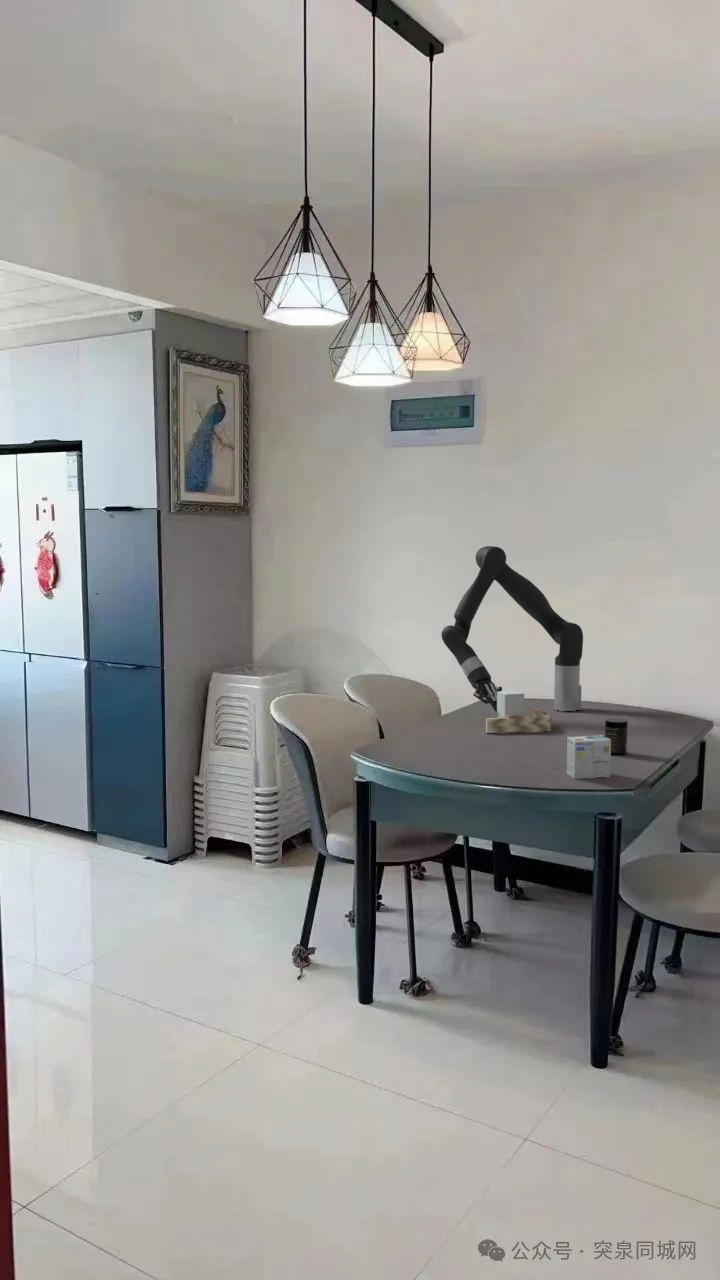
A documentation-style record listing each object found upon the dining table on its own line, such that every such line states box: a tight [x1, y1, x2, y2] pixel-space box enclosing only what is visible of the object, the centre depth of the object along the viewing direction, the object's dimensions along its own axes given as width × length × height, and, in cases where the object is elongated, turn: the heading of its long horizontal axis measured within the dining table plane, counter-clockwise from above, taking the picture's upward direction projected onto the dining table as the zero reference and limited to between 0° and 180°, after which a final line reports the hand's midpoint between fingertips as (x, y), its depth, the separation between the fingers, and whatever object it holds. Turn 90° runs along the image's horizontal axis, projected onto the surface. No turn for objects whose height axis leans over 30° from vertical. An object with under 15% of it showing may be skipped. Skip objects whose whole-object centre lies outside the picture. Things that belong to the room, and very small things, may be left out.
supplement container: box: [604, 717, 629, 756], centre depth 298 cm, size 7×7×10 cm
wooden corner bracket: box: [485, 707, 552, 734], centre depth 337 cm, size 23×17×6 cm
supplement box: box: [496, 690, 525, 718], centre depth 336 cm, size 7×7×13 cm
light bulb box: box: [566, 734, 612, 780], centre depth 272 cm, size 11×7×11 cm, turn 99°
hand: (500, 711), depth 340 cm, fingers closed
